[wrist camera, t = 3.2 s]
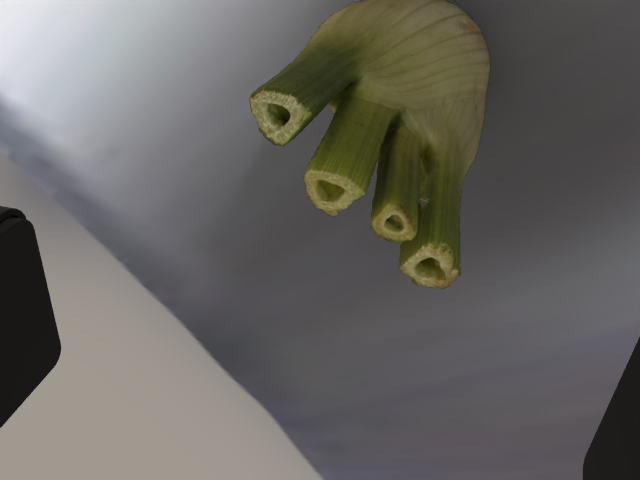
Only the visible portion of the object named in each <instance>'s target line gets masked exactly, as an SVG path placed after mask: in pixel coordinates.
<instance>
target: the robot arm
mask: <svg viewBox="0 0 640 480" xmlns="http://www.w3.org/2000/svg"><path fill="white" fill-rule="evenodd" d="M60 352H61V344H60V339H59V335H58V330H57V326H56V322H55V318H54V313H53V308H52V304H51V300H50V295H49V291H48V287H47V282H46V278H45V274H44V269H43V265H42V261H41V256H40V252H39V248H38V244H37V239H36V234H35V230H34V227H33V225H32V223H31V222H30V221H28V220H26V217H25V215H24V214H23V213H22V212H21V211H20V210H18V209H14V208H8V207H2V206H0V428H1V427H2V426H3V424H4V423H5V422H6V421H7V420H8V419H9V418H10V417H11V415H12V414H13V413H14V412H15V411H16V410H17V408H18V407H19V406H20V405H21V404H22V403H23V402H24V400H25V399H26V398H27V397H28V396H29V395H30V394H31V393H32V392H33V390H34V389H35V388H36V387H37V386H38V385H39V384H40V383H41V381H42V380H43V379H44V378H45V377H46V376H47V375H48V373H49V372H50V371H51V370H52V369H53V368H54V366H55V365H56V363H57V361H58V359H59V356H60ZM583 480H640V337H639V340H638V342H637V344H636V346H635V348H634V351H633V353H632V355H631V357H630V359H629V361H628V364H627V366H626V368H625V370H624V372H623V375H622V377H621V379H620V381H619V383H618V386H617V388H616V390H615V392H614V394H613V397H612V399H611V401H610V403H609V405H608V408H607V410H606V412H605V414H604V416H603V419H602V421H601V423H600V425H599V427H598V430H597V432H596V434H595V436H594V438H593V441H592V443H591V445H590V447H589V449H588V452H587V454H586V456H585V459H584V464H583Z"/></svg>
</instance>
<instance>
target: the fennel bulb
mask: <svg viewBox="0 0 640 480" xmlns="http://www.w3.org/2000/svg"><path fill="white" fill-rule="evenodd" d="M489 73H490V55H489V52H488V49H487V44H486V42H485V39H484V37H483V35H482V33H481V30H480V28H479V27H478V25H477V24H476V23H475V22H474V21H473V20H472V19H471V18H470V17H469V16H468V15H467V14H466V13H465V12H464V11H463V10H462V9H461V8H460V7H458V6H456V5H454V4H453V3H450V2H448V1H446V0H364V1H359V2H356V3H354V4H351V5H349V6H347V7H345V8H343V9H342V10H339V11H338V12H336V13H335V14H333V15H331V16H330V17H329V18H328V19H327V20H325V21H324V22H323V24H322V25H321V26H319V28H318V31H317V32H316V33H315V34H314V35H313V36H312V37H311V39H310V41H309V42H308V45H307V46H306V47H305V49H304V50H303V51H302V52H301V53H300V54H299V55H298V57H296V59H295V60H294V61H293V62H292V63H290V64H289V65H288V66H287V67H286V68H285V69H283V70H282V71H281V72H280V73H279V74H278V75H276V76H275V77H273V78H272V79H271V80H270V81H268V82H267V83H265V84H264V85H262V86H261V87H259V88H258V89H257V90H256V91H255V92H253V93H252V95H251V97H250V107H251V112H252V114H253V115H254V116H255V117H256V119H257V123H258V126H259V131H260V132H261V133H262V134H263V136H264V137H265V138H267V139H268V140H269V141H270V142H272V143H273V144H274V145H280V146H284V145H286V144H287V143H289V142H290V141H291V140H292V139H294V138H295V137H296V136H297V135H298V134H299V133H300V132H302V130H303V129H304V128H305V127H306V126H307V125H308V124H309V123H310V122H311V121H312V120H313V119H314V117H315V116H317V115H318V114H319V113H320V112H321V111H322V109H323V108H324V107H325V106H326V105H327V104H328V105H329V106H330V107H331V109H332V110H333V112H334V117H333V119H332V121H331V124H330V125H329V128H328V130H327V132H326V134H325V136H324V137H323V138H322V140H321V142H320V144H319V146H318V148H317V150H316V152H315V153H314V155H313V157H312V159H311V161H310V163H309V165H308V167H307V169H306V171H305V173H304V182H305V186H306V191H307V193H308V196H309V198H310V200H311V202H312V203H313V205H314V206H315V207H316V208H318V209H320V210H322V211H323V212H325V213H326V214H328V215H329V216H337V215H338V213H339V212H340V211H341V210H344V209H347V207H349V206H350V205H351V204H352V202H353V201H354V200H358V199H360V198H361V197H363V196H364V195H365V192H366V190H367V188H368V185H369V183H370V180H371V176H372V175H373V171H374V169H375V165H376V162H377V161H378V168H377V183H376V190H375V196H374V198H373V202H372V214H371V217H372V218H371V229H372V230H373V231H374V233H375V234H376V235H377V236H378V237H381V238H384V239H386V240H387V241H392V242H402V243H401V246H400V257H399V266H398V268H399V269H400V271H401V272H402V273H404V274H405V275H407V276H409V277H410V278H411V280H412V282H413V283H415V284H416V285H422V286H427V287H435V288H438V289H444V288H446V287H449V286H450V284H451V283H452V282H453V281H455V280H456V279H457V277H458V276H460V274H461V268H460V203H461V202H460V201H461V193H462V190H461V188H462V183H463V180H464V177H465V175H466V173H467V171H468V169H469V168H470V166H471V164H472V162H473V161H474V159H475V156H476V153H477V150H478V145H479V142H480V137H481V130H482V126H483V121H484V113H485V98H486V97H485V96H486V90H487V85H488V79H489ZM378 159H379V160H378Z"/></svg>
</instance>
